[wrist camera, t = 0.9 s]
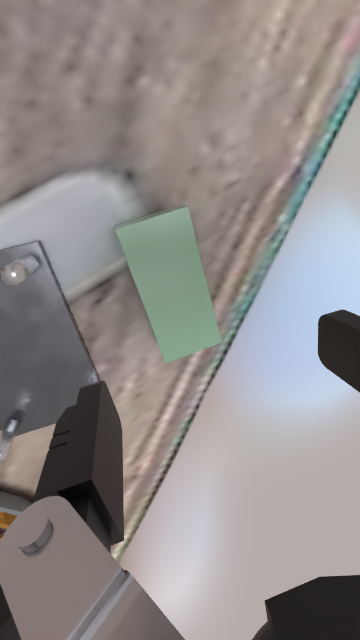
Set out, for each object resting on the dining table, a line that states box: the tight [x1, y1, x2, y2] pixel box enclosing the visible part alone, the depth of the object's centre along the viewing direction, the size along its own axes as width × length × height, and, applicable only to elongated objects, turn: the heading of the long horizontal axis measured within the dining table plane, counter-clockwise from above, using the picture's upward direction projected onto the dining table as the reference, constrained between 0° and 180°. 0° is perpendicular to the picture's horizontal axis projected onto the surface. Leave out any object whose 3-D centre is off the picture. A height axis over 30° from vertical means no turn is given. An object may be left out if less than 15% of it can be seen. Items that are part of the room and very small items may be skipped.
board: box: [115, 206, 222, 363], centre depth 23 cm, size 12×6×5 cm, turn 16°
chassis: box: [0, 241, 100, 463], centre depth 23 cm, size 18×11×5 cm, turn 12°
